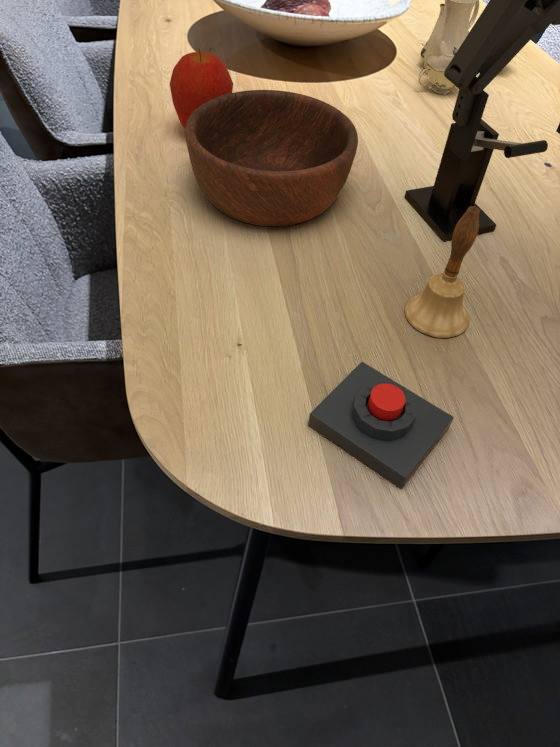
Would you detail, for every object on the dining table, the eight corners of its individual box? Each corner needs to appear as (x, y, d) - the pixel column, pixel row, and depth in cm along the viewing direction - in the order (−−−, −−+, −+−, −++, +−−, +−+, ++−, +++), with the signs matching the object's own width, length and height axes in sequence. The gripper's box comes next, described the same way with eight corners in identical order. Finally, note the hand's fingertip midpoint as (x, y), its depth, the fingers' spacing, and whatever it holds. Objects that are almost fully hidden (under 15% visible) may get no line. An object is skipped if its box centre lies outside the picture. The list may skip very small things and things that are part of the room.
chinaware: (446, 115, 118) (480, 26, 105) (380, 76, 123) (405, -13, 110) (516, 75, 132) (554, -8, 119) (454, 42, 138) (484, -40, 124)
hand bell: (400, 292, 81) (430, 187, 68) (461, 295, 81) (501, 191, 69) (409, 337, 75) (442, 231, 63) (474, 340, 75) (520, 235, 63)
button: (408, 406, 63) (412, 395, 62) (390, 426, 61) (393, 416, 60) (379, 388, 65) (382, 377, 63) (361, 408, 63) (363, 397, 61)
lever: (546, 156, 76) (549, 136, 74) (510, 162, 74) (512, 142, 73) (480, 146, 87) (482, 128, 85) (448, 151, 85) (449, 133, 84)
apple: (180, 149, 101) (174, 63, 90) (167, 121, 107) (160, 37, 96) (240, 142, 104) (240, 57, 93) (223, 115, 110) (222, 32, 99)
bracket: (494, 231, 91) (528, 145, 80) (443, 241, 88) (471, 155, 78) (452, 188, 98) (478, 104, 88) (404, 197, 96) (425, 112, 85)
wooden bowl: (252, 134, 106) (253, 73, 98) (376, 185, 97) (389, 123, 90) (154, 196, 92) (147, 131, 84) (290, 262, 83) (296, 197, 76)
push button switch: (448, 428, 66) (459, 406, 63) (401, 489, 61) (410, 468, 58) (358, 373, 71) (364, 350, 68) (307, 425, 65) (311, 403, 62)
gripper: (693, -123, 53) (586, 114, 69) (446, -121, 46) (391, 142, 62) (764, -102, 48) (631, 147, 64) (502, -96, 41) (427, 180, 57)
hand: (513, 145), depth 63 cm, fingers open, 13 cm apart
